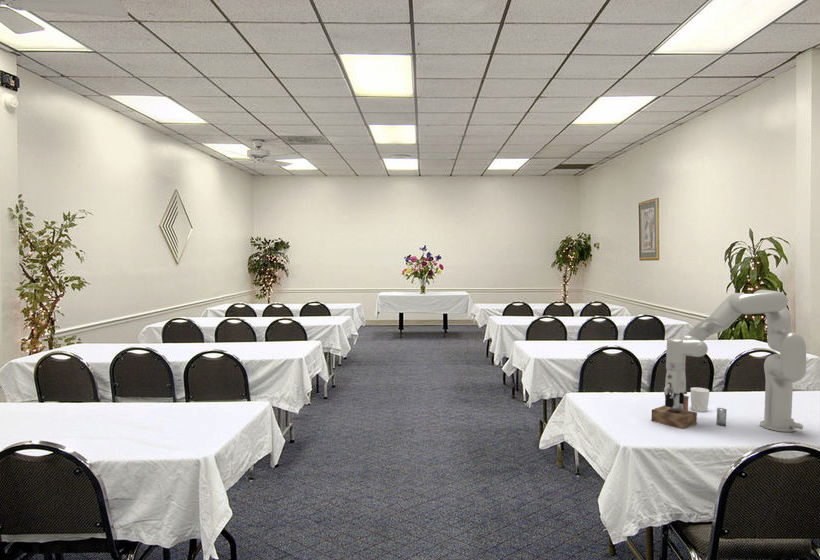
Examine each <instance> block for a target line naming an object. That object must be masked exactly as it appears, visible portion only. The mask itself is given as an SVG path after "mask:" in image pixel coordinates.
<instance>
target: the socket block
mask: <svg viewBox="0 0 820 560" xmlns="http://www.w3.org/2000/svg"><path fill="white" fill-rule="evenodd" d="M697 416H698V412H697V411H693V410H689V409H688V410H683V409H679V413H673V412H670V407H667V406H665V404H664V405H662V406H658V407H656V408H653V409H651V418H650V419H651V421H652V422H654V421H655V423H658V422H659V424H662V425H666V426H670V427H675V428H678V429H682V430H685V429H688V428H690V427H692V426H696V425H697V424H698V421H697V420H698V417H697Z"/></svg>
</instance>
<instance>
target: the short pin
mask: <svg viewBox="0 0 820 560" xmlns="http://www.w3.org/2000/svg"><path fill="white" fill-rule="evenodd" d="M716 425H717V426H719V427H720V426H721V427H726V426H727V409H726V408H724V407H717V408H716Z"/></svg>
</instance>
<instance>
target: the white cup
mask: <svg viewBox="0 0 820 560" xmlns="http://www.w3.org/2000/svg"><path fill="white" fill-rule="evenodd" d="M709 397H710V390H709V389H708V388H705V387H704V388H703V387H690V408H691V411H693V412H697V413H698V412H700V413H706V412H708V408H709V407H708V406H709V399H710V398H709Z"/></svg>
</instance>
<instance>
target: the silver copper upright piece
mask: <svg viewBox="0 0 820 560" xmlns="http://www.w3.org/2000/svg"><path fill="white" fill-rule="evenodd" d="M689 398H690V396H689V395H688V391H686V390H685V391H684V403H683V410H688V411H689Z"/></svg>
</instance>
